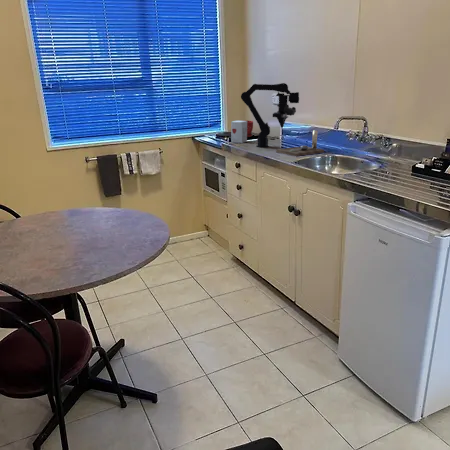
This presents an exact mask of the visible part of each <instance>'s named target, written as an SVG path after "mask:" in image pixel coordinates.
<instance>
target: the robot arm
mask: <svg viewBox="0 0 450 450" xmlns="http://www.w3.org/2000/svg"><path fill="white" fill-rule="evenodd" d="M255 91H273V92H274V91H275V92H277V94H275V96H276V97H278V104H277V107H278V108H277V109H278V110H277V111H276V112H273V113H272V118H276V119H277V121H278V123H279V126H280V128H284V126H285V122H286V121H287V119H288V118H289V116H294V115H295V114H296V112H297V109H296V107H294V106H292V107H289V104H288V103H290V104H299V103H300V93H299V92H298V91H297V92H291V90H289V85H288V84H287V83H286V82H280V83H276V84H267V83H266V84H263V83H261V84H260V83H254V84H252V86H251V87H250V88H248V89H247V90H246V91H244V92H242V93H241V95H240V98H241V100H242V102H243V103H244V104H245V105H246V106H247V107H248V109H249V111H250V113H251V114H252V116H253V117H254V119H255V121H256V123H257V124H258V127H259V130H260V132H259V133H258V137H257V145H256V147H258V148H269V139H268V136H269V135H270V133H271V127H270V126H269V124H268V122H265V121H264V120H263V118H262V117H261V114H260V113H259V111H258V109H257V107H256V106H255V104H254V102H253V100H252V97H251V95H252V94H253V93H254V92H255Z"/></svg>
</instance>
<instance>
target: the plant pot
mask: <svg viewBox="0 0 450 450" xmlns="http://www.w3.org/2000/svg"><path fill="white" fill-rule="evenodd" d="M244 121H247V138H250V137H252V135H253V133H252V132H253V129H254V121H253V120H246V119H245V120H244Z"/></svg>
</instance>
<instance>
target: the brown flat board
mask: <svg viewBox="0 0 450 450" xmlns="http://www.w3.org/2000/svg"><path fill="white" fill-rule="evenodd" d="M311 147H312V146H311ZM311 147H310V146H308V147H307V148H311ZM291 149H300V146H297V147H296V146H295V147H289V148H280V149H276V153H279V154H283V155H288V156H293V157H300V156H306V155H307V156H308V155H315V154H322V153H325V149H321V148H316V149H307V150H293V151H291Z"/></svg>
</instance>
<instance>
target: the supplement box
mask: <svg viewBox="0 0 450 450" xmlns="http://www.w3.org/2000/svg"><path fill="white" fill-rule="evenodd" d="M247 121H248V120H246V121H245V120H233V121H231V122H230V123H231V127H230V129H231V130H230V131H231V132H230V133H231V135H230V136H231V137H230V138H231V139H230V140H231V141H230V142H231V143H238V144H243V143H246V142H248V137H247Z"/></svg>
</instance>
